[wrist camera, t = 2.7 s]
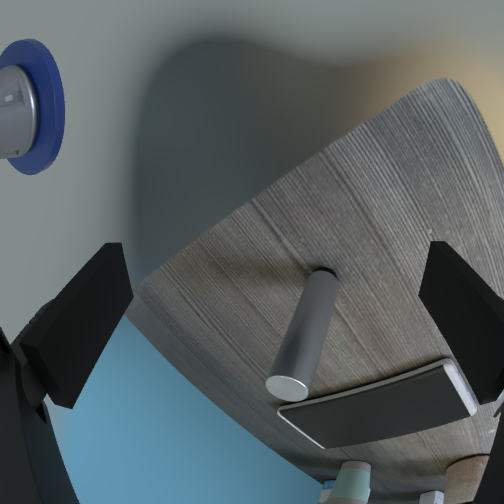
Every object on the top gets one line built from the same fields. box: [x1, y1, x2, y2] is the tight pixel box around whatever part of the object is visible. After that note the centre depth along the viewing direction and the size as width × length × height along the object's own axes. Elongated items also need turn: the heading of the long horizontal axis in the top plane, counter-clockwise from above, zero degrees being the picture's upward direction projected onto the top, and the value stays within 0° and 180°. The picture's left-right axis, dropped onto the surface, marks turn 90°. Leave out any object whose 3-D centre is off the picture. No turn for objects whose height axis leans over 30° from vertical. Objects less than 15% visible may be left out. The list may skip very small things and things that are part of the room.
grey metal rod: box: [266, 267, 338, 401], centre depth 25 cm, size 3×3×13 cm
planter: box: [443, 455, 490, 504], centre depth 36 cm, size 11×11×10 cm
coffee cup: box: [326, 461, 371, 504], centre depth 45 cm, size 9×9×12 cm
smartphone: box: [277, 358, 477, 449], centre depth 38 cm, size 13×27×2 cm, turn 135°
